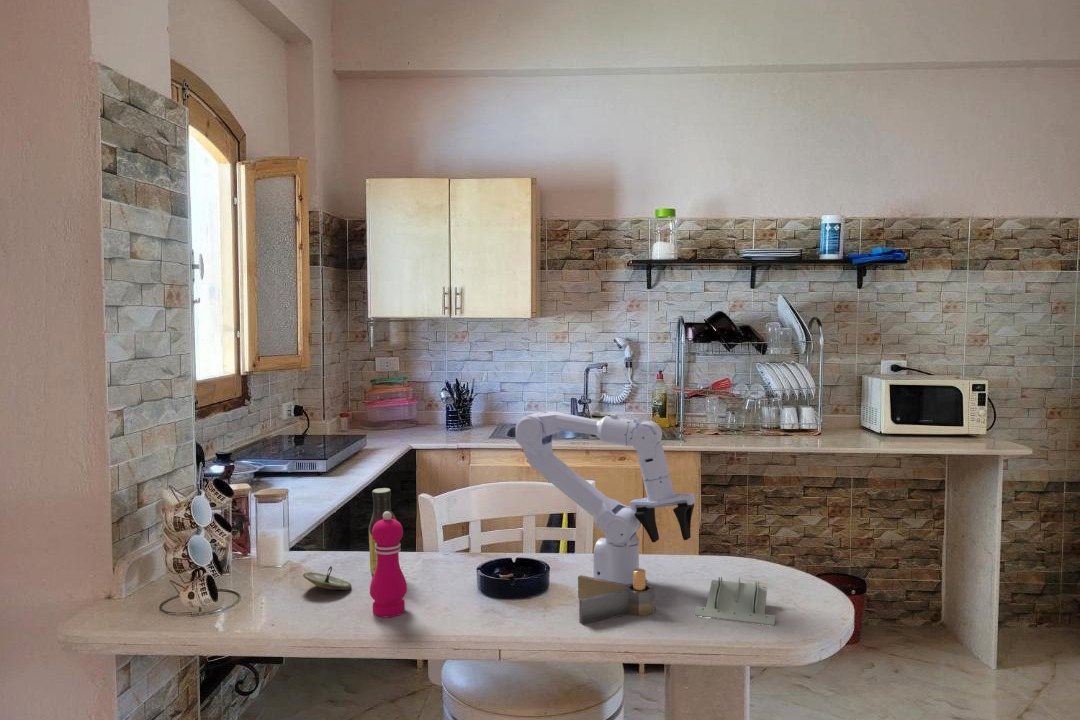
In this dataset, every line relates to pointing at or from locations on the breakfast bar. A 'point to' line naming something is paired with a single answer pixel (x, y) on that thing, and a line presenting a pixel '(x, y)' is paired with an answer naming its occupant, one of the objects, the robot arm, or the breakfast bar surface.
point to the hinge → (611, 599)
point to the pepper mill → (388, 569)
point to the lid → (327, 581)
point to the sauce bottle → (380, 506)
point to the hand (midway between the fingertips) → (671, 539)
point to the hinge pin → (639, 580)
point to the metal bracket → (736, 602)
